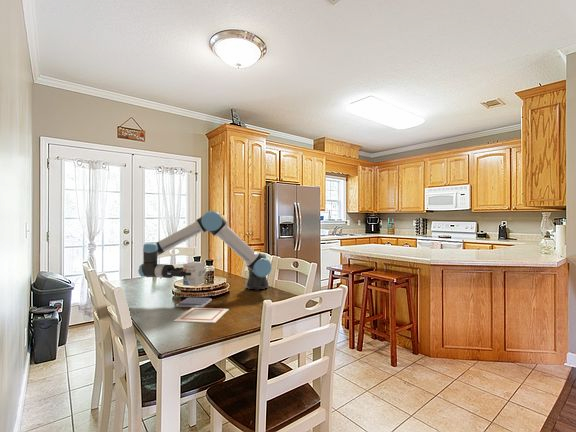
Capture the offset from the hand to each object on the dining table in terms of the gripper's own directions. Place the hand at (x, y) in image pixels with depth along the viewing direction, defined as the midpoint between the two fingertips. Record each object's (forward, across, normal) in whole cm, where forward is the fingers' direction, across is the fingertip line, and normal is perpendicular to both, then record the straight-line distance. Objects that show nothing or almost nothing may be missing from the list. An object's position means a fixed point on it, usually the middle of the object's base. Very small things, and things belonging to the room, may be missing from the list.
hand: (201, 272), depth 170 cm
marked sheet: (+10, +18, -18) cm, 27 cm away
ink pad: (-4, 0, -18) cm, 18 cm away
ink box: (-5, 0, -7) cm, 8 cm away
